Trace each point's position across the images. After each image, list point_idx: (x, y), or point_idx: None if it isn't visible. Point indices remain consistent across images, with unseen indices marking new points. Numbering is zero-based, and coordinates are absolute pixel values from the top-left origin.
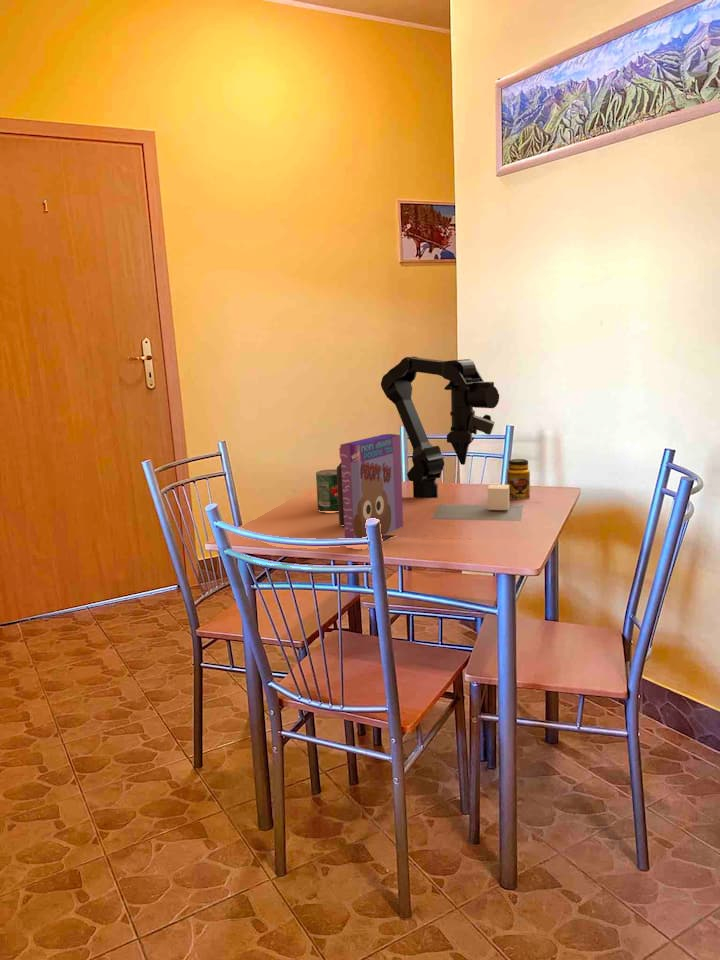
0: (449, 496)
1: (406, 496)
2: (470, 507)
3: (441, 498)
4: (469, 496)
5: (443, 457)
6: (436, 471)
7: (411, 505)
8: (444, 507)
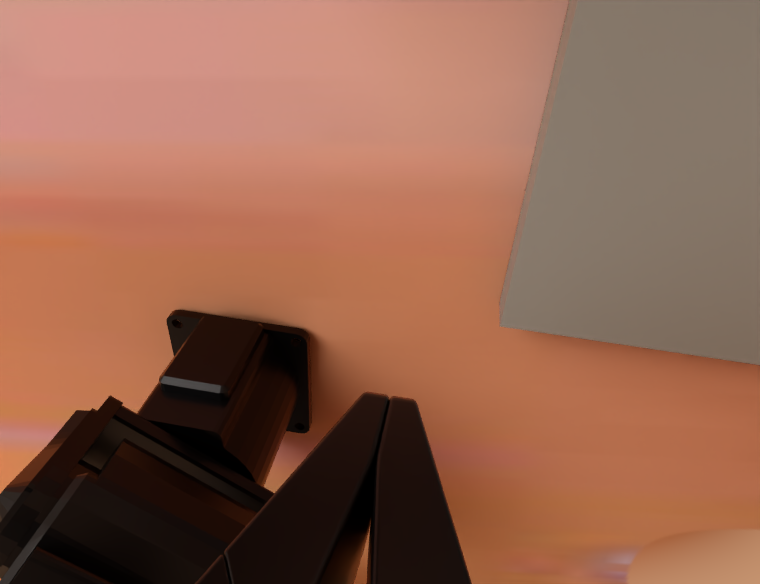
0: (102, 237)
1: None
2: (673, 106)
3: (173, 285)
4: (56, 97)
5: (42, 563)
6: (191, 486)
7: None
8: (614, 304)
